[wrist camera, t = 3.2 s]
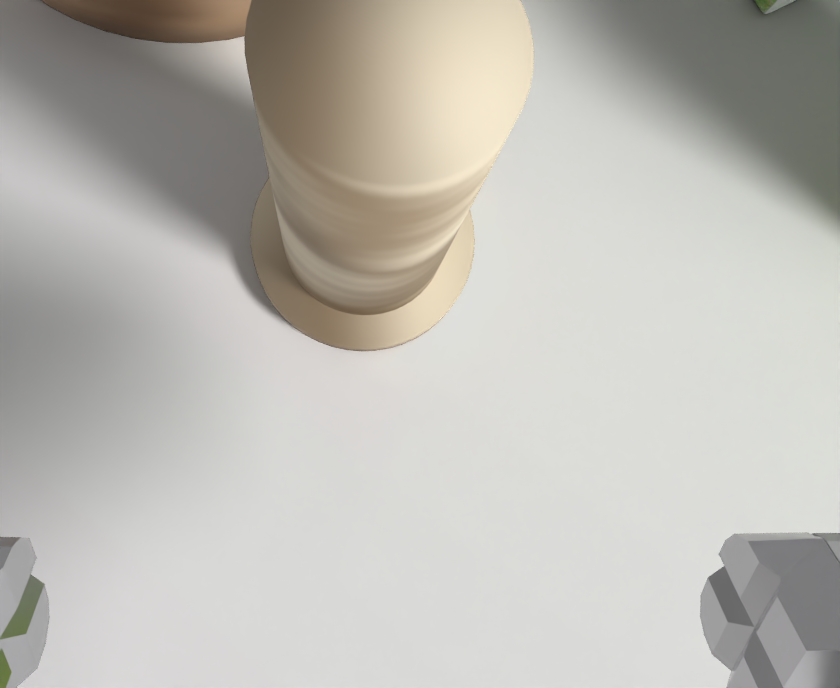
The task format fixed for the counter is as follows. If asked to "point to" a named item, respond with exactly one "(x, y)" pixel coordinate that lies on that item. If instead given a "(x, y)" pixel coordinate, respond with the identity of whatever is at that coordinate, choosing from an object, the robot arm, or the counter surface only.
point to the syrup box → (771, 5)
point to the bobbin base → (161, 18)
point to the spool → (377, 155)
